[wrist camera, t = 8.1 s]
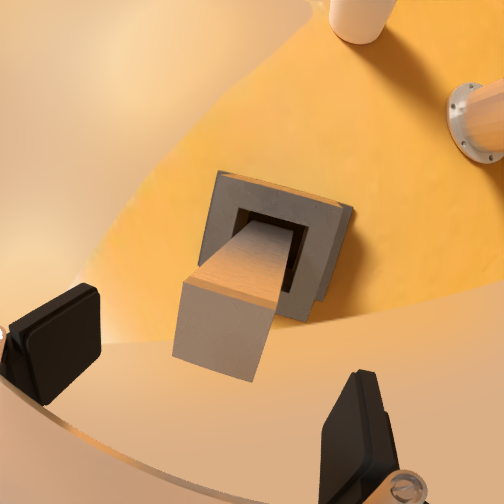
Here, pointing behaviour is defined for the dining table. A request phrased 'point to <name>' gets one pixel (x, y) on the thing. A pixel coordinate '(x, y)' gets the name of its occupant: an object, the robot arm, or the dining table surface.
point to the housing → (287, 208)
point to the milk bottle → (359, 19)
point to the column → (233, 302)
